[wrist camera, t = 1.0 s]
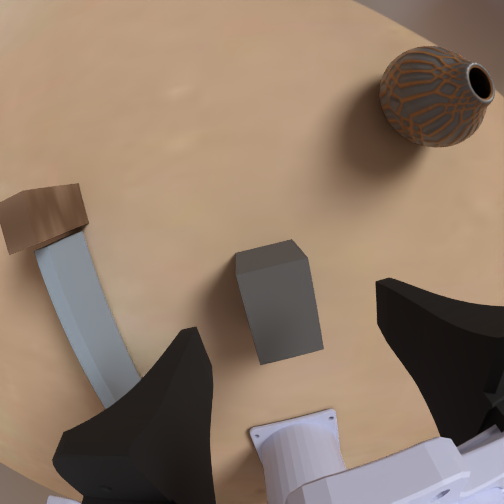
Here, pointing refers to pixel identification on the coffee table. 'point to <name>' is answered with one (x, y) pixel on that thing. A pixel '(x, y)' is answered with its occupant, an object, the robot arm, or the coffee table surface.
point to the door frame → (41, 215)
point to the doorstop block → (279, 301)
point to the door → (87, 317)
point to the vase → (435, 96)
